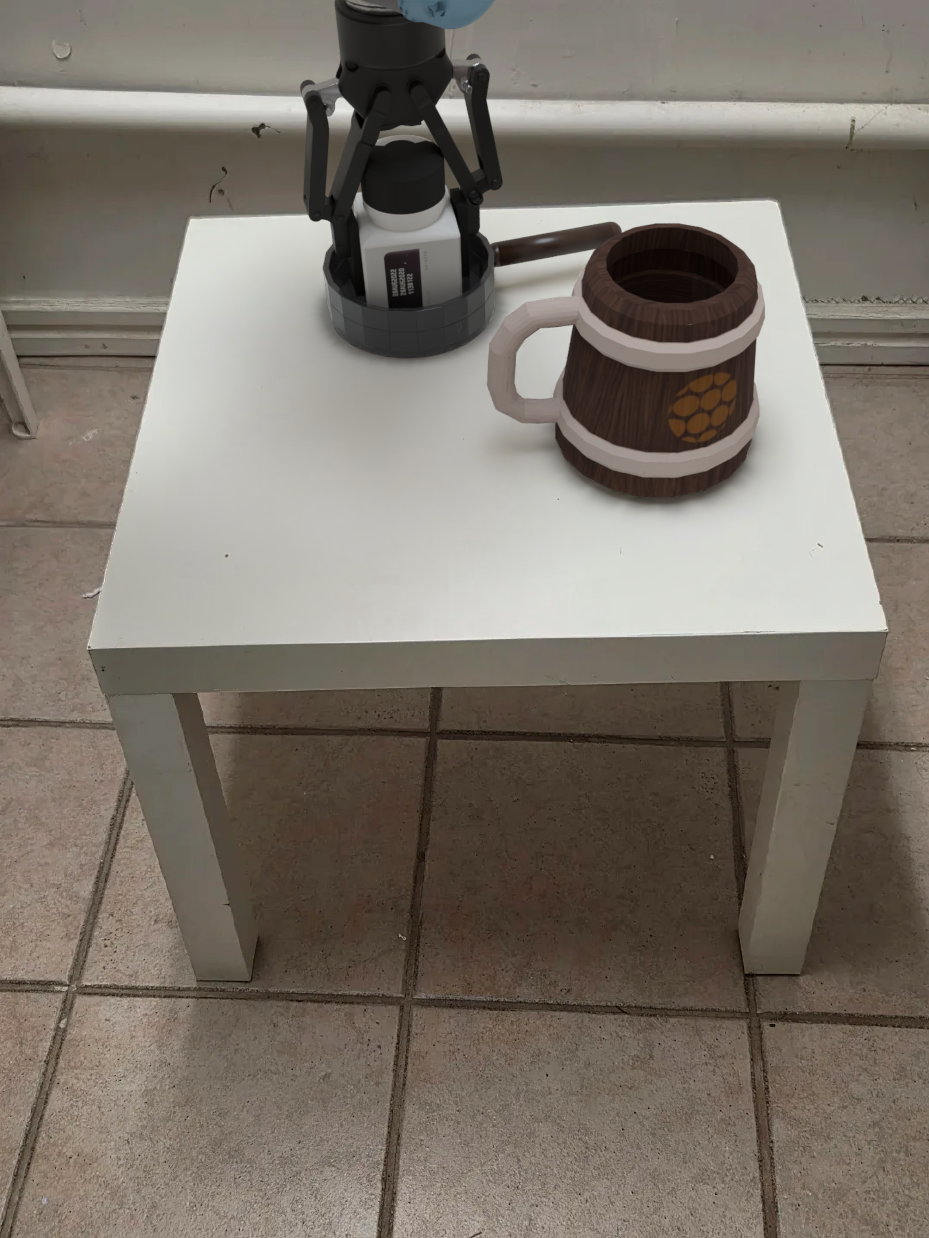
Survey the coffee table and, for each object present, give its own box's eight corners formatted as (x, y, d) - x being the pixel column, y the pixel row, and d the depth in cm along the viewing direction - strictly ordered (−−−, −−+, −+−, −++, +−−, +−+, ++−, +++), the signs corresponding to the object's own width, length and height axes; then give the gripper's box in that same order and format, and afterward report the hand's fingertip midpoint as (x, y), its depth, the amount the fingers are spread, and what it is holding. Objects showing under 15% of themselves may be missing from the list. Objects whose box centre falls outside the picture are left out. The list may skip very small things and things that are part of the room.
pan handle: (488, 274, 99) (488, 253, 98) (482, 260, 101) (481, 239, 99) (624, 248, 101) (626, 228, 100) (616, 236, 102) (618, 215, 101)
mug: (724, 364, 95) (754, 192, 83) (777, 496, 85) (818, 323, 74) (476, 388, 94) (471, 217, 82) (501, 524, 84) (499, 353, 73)
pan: (347, 372, 96) (341, 325, 92) (316, 274, 104) (309, 229, 101) (515, 339, 98) (515, 293, 94) (469, 247, 106) (468, 201, 103)
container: (463, 316, 98) (458, 170, 88) (370, 327, 97) (354, 181, 87) (449, 263, 103) (443, 118, 93) (360, 273, 102) (345, 129, 92)
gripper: (519, -51, 85) (517, 231, 103) (228, -10, 82) (278, 274, 100) (551, -8, 80) (544, 280, 98) (244, 38, 77) (293, 327, 95)
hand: (409, 277), depth 99 cm, fingers closed on container, 8 cm apart
